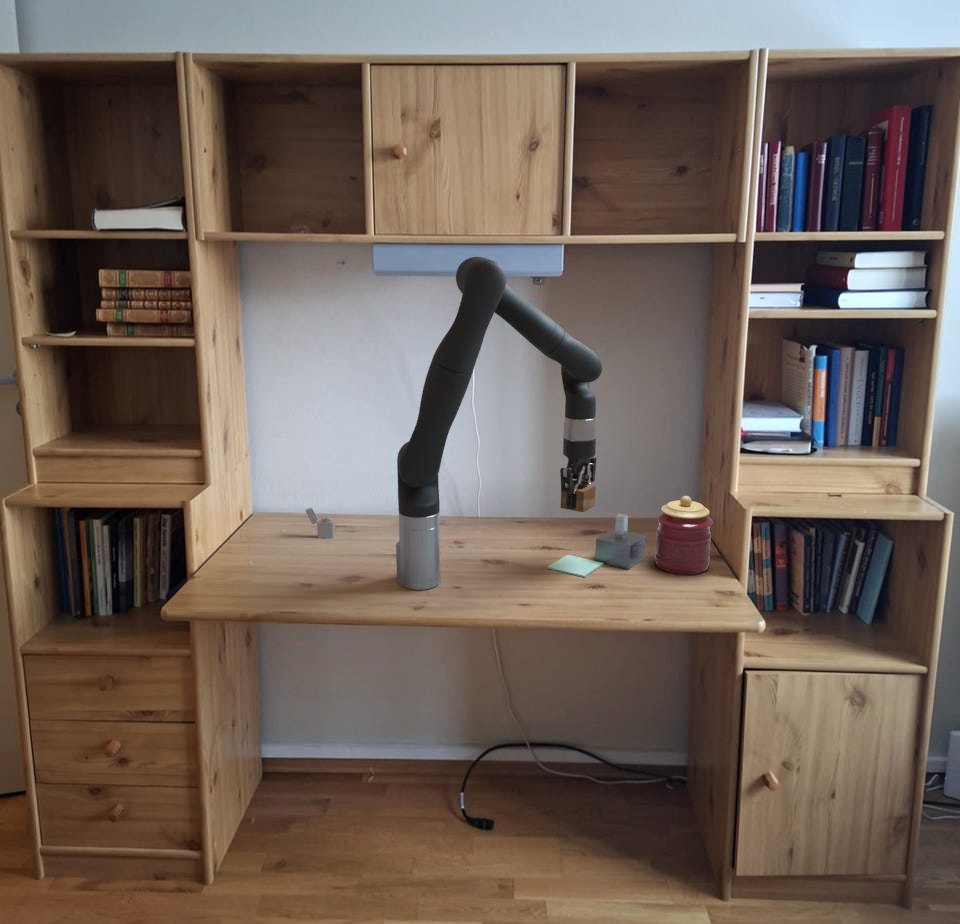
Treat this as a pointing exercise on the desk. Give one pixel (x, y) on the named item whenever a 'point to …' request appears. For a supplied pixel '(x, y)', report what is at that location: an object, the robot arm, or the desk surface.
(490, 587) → the desk surface
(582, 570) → the mat
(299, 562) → the desk surface
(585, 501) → the hollow wooden block
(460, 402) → the robot arm
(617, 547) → the block
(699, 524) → the canister
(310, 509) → the lighter
